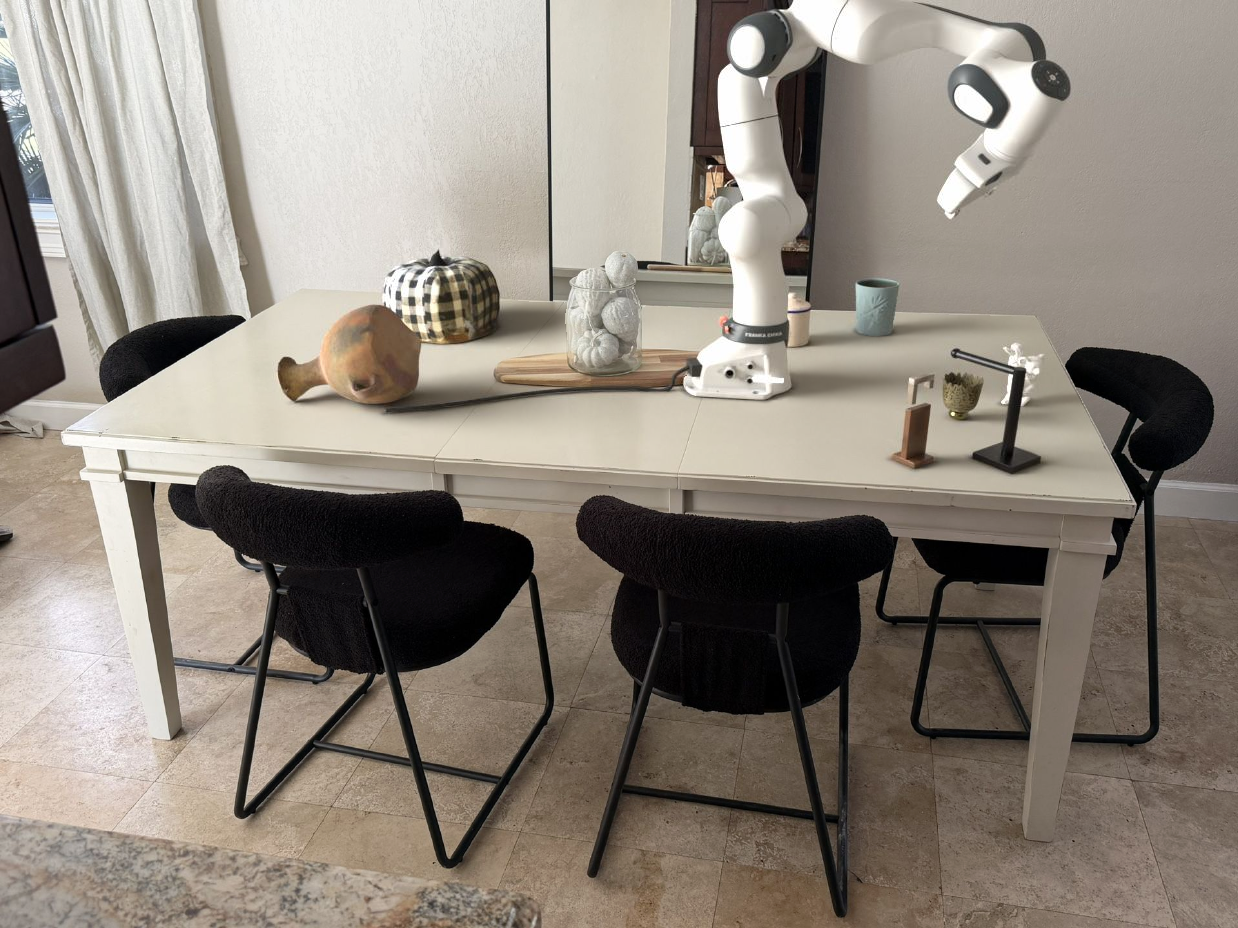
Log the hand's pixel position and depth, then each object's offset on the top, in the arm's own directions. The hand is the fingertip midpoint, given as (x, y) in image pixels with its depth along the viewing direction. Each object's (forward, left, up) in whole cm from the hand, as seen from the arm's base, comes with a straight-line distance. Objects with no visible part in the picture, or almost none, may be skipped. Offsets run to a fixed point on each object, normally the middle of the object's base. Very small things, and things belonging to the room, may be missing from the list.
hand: (967, 204), depth 181 cm
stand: (+1, -21, -40) cm, 45 cm away
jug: (-117, +10, -40) cm, 124 cm away
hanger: (-12, -24, -40) cm, 48 cm away
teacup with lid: (-24, +46, -40) cm, 65 cm away
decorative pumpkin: (-107, +61, -40) cm, 129 cm away
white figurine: (+16, +4, -40) cm, 43 cm away
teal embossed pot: (-1, +54, -40) cm, 67 cm away
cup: (+2, -4, -40) cm, 40 cm away
